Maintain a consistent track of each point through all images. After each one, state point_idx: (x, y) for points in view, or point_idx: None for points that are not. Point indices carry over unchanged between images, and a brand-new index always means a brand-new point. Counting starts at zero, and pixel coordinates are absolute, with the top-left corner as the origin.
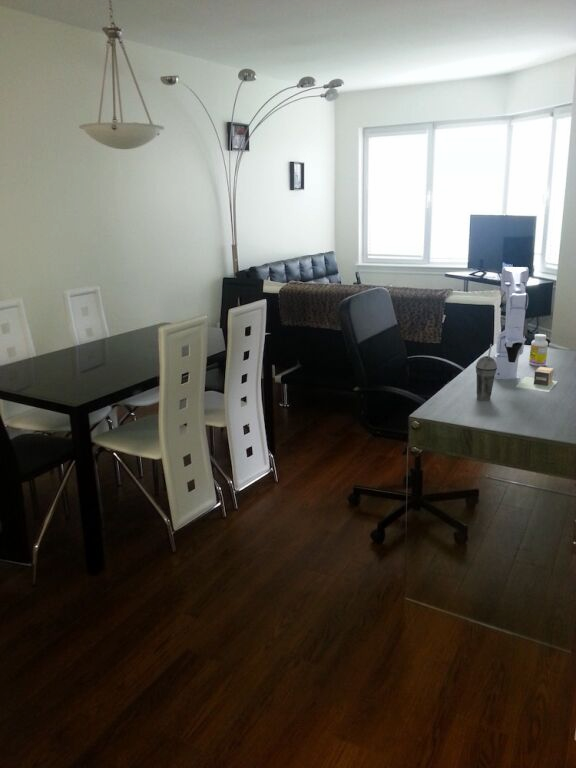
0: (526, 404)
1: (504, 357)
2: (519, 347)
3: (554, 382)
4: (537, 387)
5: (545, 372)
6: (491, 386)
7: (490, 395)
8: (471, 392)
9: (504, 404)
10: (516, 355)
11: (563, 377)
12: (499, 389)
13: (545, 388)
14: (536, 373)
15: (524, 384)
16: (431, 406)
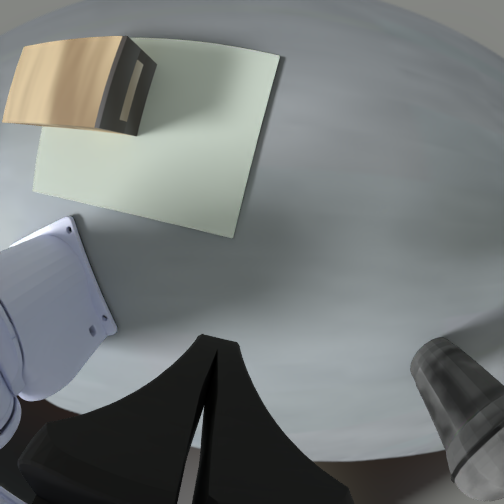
0: (481, 195)
1: (27, 360)
2: (301, 487)
3: None
4: (203, 111)
5: (110, 58)
6: (482, 367)
7: (455, 346)
8: (359, 406)
9: (485, 281)
10: (234, 384)
11: (14, 44)
12: (291, 315)
13: (211, 70)
14: (109, 118)
15: (162, 186)
16: None
